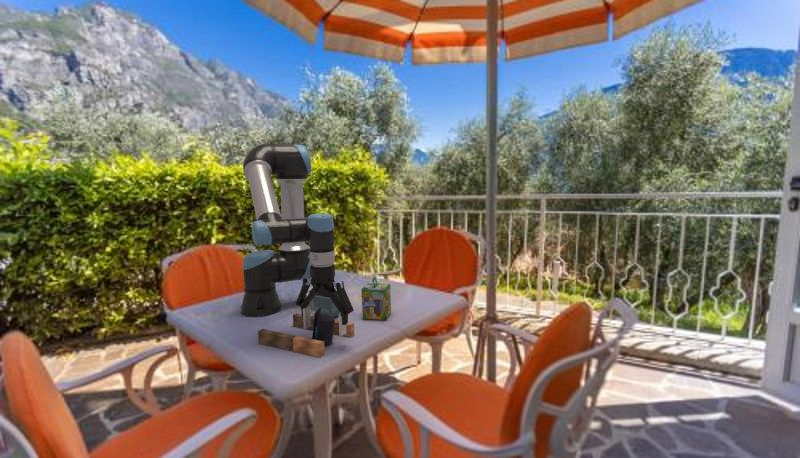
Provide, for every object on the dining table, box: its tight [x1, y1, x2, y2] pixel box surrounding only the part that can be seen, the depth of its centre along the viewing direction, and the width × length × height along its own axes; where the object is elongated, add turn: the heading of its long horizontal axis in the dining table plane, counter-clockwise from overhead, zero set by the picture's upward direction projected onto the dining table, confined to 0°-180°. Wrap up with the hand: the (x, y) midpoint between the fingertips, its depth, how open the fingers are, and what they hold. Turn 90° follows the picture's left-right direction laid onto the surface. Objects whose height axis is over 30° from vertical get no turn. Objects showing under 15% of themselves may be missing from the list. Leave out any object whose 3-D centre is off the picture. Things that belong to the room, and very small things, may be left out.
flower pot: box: [312, 291, 341, 318], centre depth 146 cm, size 9×9×9 cm
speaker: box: [311, 308, 336, 347], centre depth 122 cm, size 8×6×10 cm
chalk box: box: [361, 275, 392, 321], centre depth 145 cm, size 9×9×15 cm
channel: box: [257, 312, 355, 358], centre depth 125 cm, size 24×18×4 cm
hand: (324, 330), depth 122 cm, fingers open, 13 cm apart
